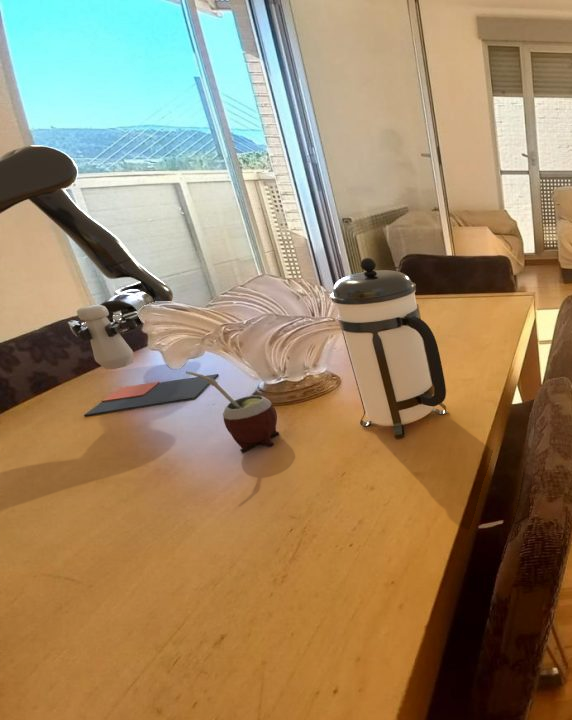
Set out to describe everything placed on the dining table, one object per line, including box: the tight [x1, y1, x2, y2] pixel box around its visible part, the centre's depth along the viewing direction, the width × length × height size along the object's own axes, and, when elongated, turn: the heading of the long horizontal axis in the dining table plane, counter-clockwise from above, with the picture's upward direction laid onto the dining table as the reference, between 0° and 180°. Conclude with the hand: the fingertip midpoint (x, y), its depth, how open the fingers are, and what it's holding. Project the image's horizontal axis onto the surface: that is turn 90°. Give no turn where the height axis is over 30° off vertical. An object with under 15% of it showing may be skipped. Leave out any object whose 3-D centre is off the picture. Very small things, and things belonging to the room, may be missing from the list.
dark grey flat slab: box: [83, 373, 219, 417], centre depth 102 cm, size 18×13×1 cm
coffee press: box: [330, 257, 447, 439], centre depth 82 cm, size 17×16×30 cm
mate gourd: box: [185, 370, 280, 454], centre depth 79 cm, size 8×8×15 cm
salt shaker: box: [76, 304, 134, 370], centre depth 98 cm, size 6×6×13 cm
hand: (97, 333), depth 95 cm, fingers closed on salt shaker, 3 cm apart
